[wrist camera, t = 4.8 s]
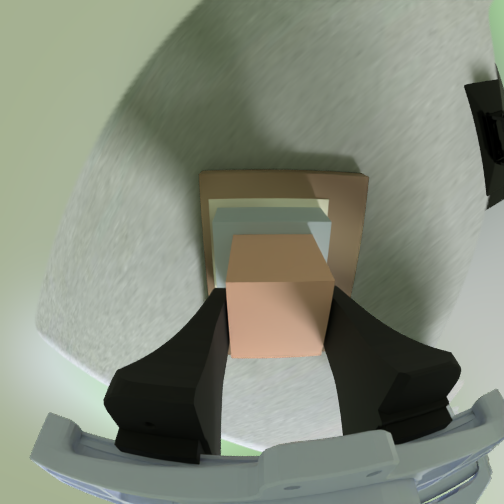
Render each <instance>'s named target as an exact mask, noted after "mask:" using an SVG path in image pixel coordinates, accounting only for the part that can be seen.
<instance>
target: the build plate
mask: <svg viewBox="0 0 504 504" xmlns="http://www.w3.org/2000/svg"><path fill="white" fill-rule="evenodd" d="M495 67H496V74H497V80H490V81H484V82H478V83H472V84H466V85H464V88H465V91H466V94H467V97H468V101H469V104H470V108H471V111H472V115H473V119H474V123H475V127H476V132H477V136H478V141H479V146H480V151H481V157H482V163H483V170H484V177H485V186H486V195H487V196H488V201H487V205H486V210H487V209H489V208H491V207H492V206H494V205H496V204H497V203H499V202H501V201H502V200H504V87H503V84H502V81H501V77H500V74H499V71H498V68H497V65H496V63H495ZM486 210H485V211H486Z"/></svg>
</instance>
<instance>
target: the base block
mask: <svg viewBox="0 0 504 504" xmlns="http://www.w3.org/2000/svg"><path fill="white" fill-rule="evenodd" d="M331 223H332V222H331V220H330V219H329V218H328V217H327V215H326V214H325V213H324V212H323V210H322V209H321V208H318V207H226V208H217V211H216V213H215V216H214V219H213V222H212V226H213V242H214V256H215V269H216V282H217V288H226V277H227V270H228V264H229V257H230V251H231V245H232V239H233V235H244V234H312V235H313V237H314V239H315V241H316V243H317V245H318V247H319V249H320V251H321V253H322V255H323V257H324V259H325V261H326V263H327V258H328V250H329V241H330V232H331Z"/></svg>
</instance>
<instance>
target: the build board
mask: <svg viewBox="0 0 504 504" xmlns="http://www.w3.org/2000/svg"><path fill="white" fill-rule="evenodd" d="M368 181H369V177H368V176H366V175H364V174H362V173H349V172H334V171H313V170H271V169H252V170H210V171H202V172H201V173H200V174H199V186H200V202H201V217H202V230H203V243H204V254H205V265H206V276H207V286H208V295H210V293H211V292H212V290H213V289H214V288H217V282H216V269H215V256H214V242H213V226H212V222H213V219H214V216H215V213H216V211H217V208H226V207H318V208H321V209H322V210H323V212H324V213H325V214H326V215H327V217H328V218H329V219H330V220H331V222H332V223H331V232H330V241H329V250H328V258H327V265H328V267H329V269H330V271H331V273H332V275H333V277H334V279H335V284H334V286H337V287H339V288H340V289H341V290H342V291H343V292H345V293H346V294H347V295H348V296H349V297H351V293H352V288H353V283H354V278H355V272H356V267H357V262H358V256H359V250H360V244H361V237H362V231H363V224H364V216H365V208H366V200H367V191H368ZM322 351H325V348H324V345H323V348H322ZM228 355H231V346H230V344H229V350H228Z"/></svg>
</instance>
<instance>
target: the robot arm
mask: <svg viewBox="0 0 504 504" xmlns="http://www.w3.org/2000/svg"><path fill="white" fill-rule="evenodd" d="M229 344H230V334H229V322H228V309H227V295H226V288H214V289H213V290H212V292H211V293H210V295H209V296H208V298H207V299H206V301H205V302H204V304H203V305H202V306H201V307H200V309H199V310H198V311H197V313H196V314H195V315H194V316H193V317H192V318H191V320H190V321H189V322H188V323H187V324H186V325H185V326H184V327H183V328H182V329H181V330H180V331H179V332H178V333H177V334H176V335H175V336H174V337H173V338H171V339H170V340H169V341H168V342H166V343H165V344H164V345H162V346H161V347H159V348H158V349H157V350H155V351H154V352H152V353H150V354H149V355H147V356H145V357H144V358H142V359H140V360H138V361H136V362H134V363H132V364H130V365H127V366H125V367H123V368H121V369H118V370H117V371H116V373H115V375H114V377H113V378H112V380H111V383H110V385H109V387H108V390H107V393H106V395H105V398H104V406H105V408H106V410H107V411H108V413H109V414H110V415H111V417H112V418H113V420H114V421H115V422H116V424H117V425H118V427H119V430H118V434H117V437H116V440H111V439H107V438H104V437H100V436H97V435H93V434H90V433H87V432H83V431H82V430H81V428H80V427H79V426H78V425H77V424H76V423H75V422H73V421H72V420H70V419H67V418H65V417H62V416H59V415H56V414H53V413H49V414H48V416H47V418H46V420H45V422H44V424H43V426H42V429H41V431H40V433H39V435H38V438H37V440H36V443H35V445H34V447H33V450H32V452H31V455H30V459H31V460H32V461H33V462H34V463H36V464H37V465H38V466H40V467H41V468H42V469H44V470H45V471H47V472H48V473H49V474H51V475H52V476H54V477H55V478H57V479H58V480H60V481H61V482H63V483H65V484H67V485H70V486H72V487H74V488H76V489H79V490H81V491H84V492H86V493H88V494H91V495H94V496H96V497H99V498H102V499H104V500H107V501H110V502H113V503H116V504H422V503H424V502H426V501H428V500H430V499H432V498H434V497H436V496H438V495H440V494H442V493H444V492H446V491H448V490H449V489H451V488H453V487H455V486H456V485H458V484H460V483H462V482H463V481H465V480H467V479H468V478H470V477H471V476H473V475H474V476H473V478H471V479H470V480H469V481H467V482H466V483H464V484H462V485H461V486H459V487H457V488H456V489H454V490H452V491H450V492H448V493H447V494H445V495H443V496H441V497H439V498H437V499H435V500H433V501H431V502H428V503H425V504H476V503H477V501H478V500H479V498H480V497H481V495H482V494H483V492H484V491H485V489H486V488H487V486H488V485H489V483H490V481H491V479H492V478H491V475H492V469H491V466H490V464H489V458H488V455H487V454H488V453H489V452H490V451H492V450H493V449H494V448H495V447H496V446H497V445H498V444H500V443H501V442H502V441H503V440H504V399H503V397H502V396H501V394H500V392H499V391H498V389H495V390H493V391H491V392H489V393H487V394H485V395H483V396H481V397H480V398H479V399H478V400H477V401H476V402H475V403H474V405H473V406H472V408H470V409H468V410H466V411H464V412H461V413H459V414H457V415H454V413H453V411H452V409H451V407H450V405H449V401H448V399H447V395H448V394H449V393H450V391H451V390H452V388H453V387H454V385H455V384H456V383H457V381H458V379H459V377H460V374H461V367H460V365H459V364H458V362H457V361H456V359H455V357H454V356H453V355H452V353H451V352H447V351H444V350H440V349H437V348H433V347H430V346H428V345H425V344H422V343H420V342H417V341H415V340H413V339H410V338H408V337H406V336H404V335H402V334H400V333H399V332H397V331H395V330H393V329H392V328H390V327H388V326H387V325H385V324H383V323H382V322H381V321H379V320H378V319H376V318H375V317H374V316H372V315H371V314H370V313H368V312H367V311H366V310H364V309H363V308H362V307H361V306H360V305H358V304H357V303H356V302H355V301H354V300H353V299H351V298H350V297H349V296H348V295H347V294H346V293H345V292H343V291H342V290H341V289H340V288H339V287H337V286H334V290H333V296H332V302H331V308H330V313H329V318H328V324H327V329H326V334H325V339H324V343H323V345H324V348H325V351H326V354H327V357H328V360H329V363H330V367H331V370H332V373H333V376H334V380H335V384H336V389H337V394H338V400H339V407H340V414H341V422H342V431H343V436H339V437H332V438H325V439H317V440H308V441H298V442H291V443H285V444H279V445H276V446H273V447H271V448H268V449H266V450H265V451H263V453H262V454H261V455H260V456H221V412H222V389H223V380H224V374H225V368H226V362H227V356H228V350H229ZM478 465H479V466H478Z"/></svg>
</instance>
